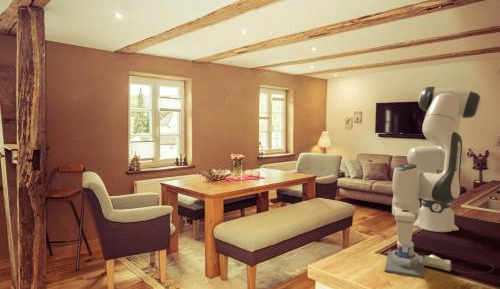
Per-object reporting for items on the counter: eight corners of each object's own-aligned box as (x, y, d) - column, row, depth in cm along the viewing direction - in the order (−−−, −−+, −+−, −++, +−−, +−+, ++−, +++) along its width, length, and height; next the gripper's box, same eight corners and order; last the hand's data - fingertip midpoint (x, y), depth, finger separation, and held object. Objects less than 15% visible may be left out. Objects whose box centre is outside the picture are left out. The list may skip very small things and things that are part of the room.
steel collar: (392, 256, 129) (392, 248, 129) (418, 259, 125) (418, 251, 125) (390, 265, 121) (391, 256, 121) (418, 269, 117) (418, 260, 117)
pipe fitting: (427, 262, 126) (423, 267, 121) (427, 251, 126) (423, 256, 121) (452, 268, 121) (449, 273, 116) (453, 256, 121) (449, 261, 116)
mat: (388, 253, 134) (388, 251, 134) (423, 257, 129) (423, 255, 129) (384, 271, 118) (384, 269, 118) (424, 278, 112) (424, 275, 112)
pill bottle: (394, 261, 124) (393, 234, 124) (403, 258, 127) (402, 232, 126) (407, 266, 119) (407, 238, 119) (417, 262, 122) (416, 235, 122)
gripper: (397, 202, 133) (397, 238, 134) (394, 216, 114) (394, 257, 115) (415, 204, 130) (415, 240, 131) (415, 218, 111) (415, 260, 112)
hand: (405, 248), depth 123 cm, fingers closed on pill bottle, 5 cm apart
